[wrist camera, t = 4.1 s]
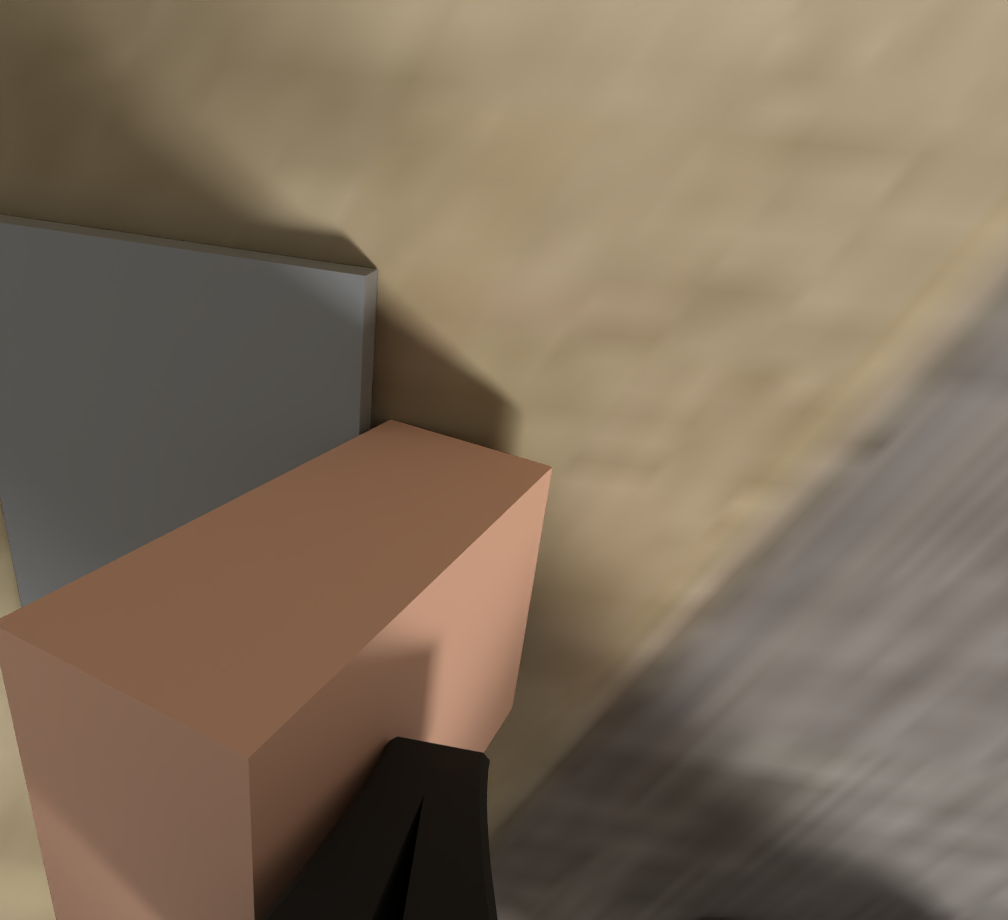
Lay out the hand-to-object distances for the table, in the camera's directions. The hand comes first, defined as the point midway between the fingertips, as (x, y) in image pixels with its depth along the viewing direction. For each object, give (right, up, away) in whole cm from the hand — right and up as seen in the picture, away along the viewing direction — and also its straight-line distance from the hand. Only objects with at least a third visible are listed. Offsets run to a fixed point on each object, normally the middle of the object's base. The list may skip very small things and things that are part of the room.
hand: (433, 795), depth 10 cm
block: (0, +2, +5) cm, 6 cm away
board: (-6, +4, +6) cm, 9 cm away
